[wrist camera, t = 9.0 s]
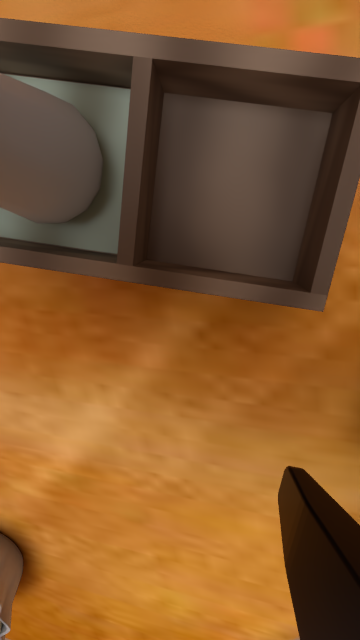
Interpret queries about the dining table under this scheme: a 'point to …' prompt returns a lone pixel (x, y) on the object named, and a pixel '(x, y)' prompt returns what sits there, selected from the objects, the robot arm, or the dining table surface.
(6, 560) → the cupcake
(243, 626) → the dining table surface
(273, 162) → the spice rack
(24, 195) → the salt shaker
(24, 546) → the dining table surface
